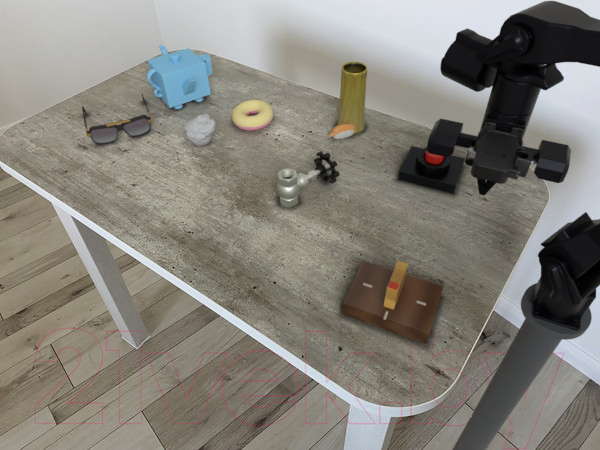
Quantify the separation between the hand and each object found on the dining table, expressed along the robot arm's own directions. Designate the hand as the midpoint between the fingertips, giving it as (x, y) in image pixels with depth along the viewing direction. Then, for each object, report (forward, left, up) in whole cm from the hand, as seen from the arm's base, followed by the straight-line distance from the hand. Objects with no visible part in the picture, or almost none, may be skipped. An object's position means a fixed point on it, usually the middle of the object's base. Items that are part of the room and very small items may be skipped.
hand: (482, 193), depth 75 cm
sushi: (+31, -22, -12) cm, 40 cm away
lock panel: (+8, +17, -12) cm, 22 cm away
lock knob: (+8, +17, -9) cm, 21 cm away
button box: (+10, -17, -12) cm, 23 cm away
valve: (+31, -2, -12) cm, 33 cm away
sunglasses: (+80, -7, -12) cm, 81 cm away
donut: (+52, -20, -12) cm, 57 cm away
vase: (+30, -26, -12) cm, 42 cm away
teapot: (+73, -23, -12) cm, 77 cm away
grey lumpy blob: (+58, -8, -12) cm, 60 cm away
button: (+10, -17, -8) cm, 21 cm away
